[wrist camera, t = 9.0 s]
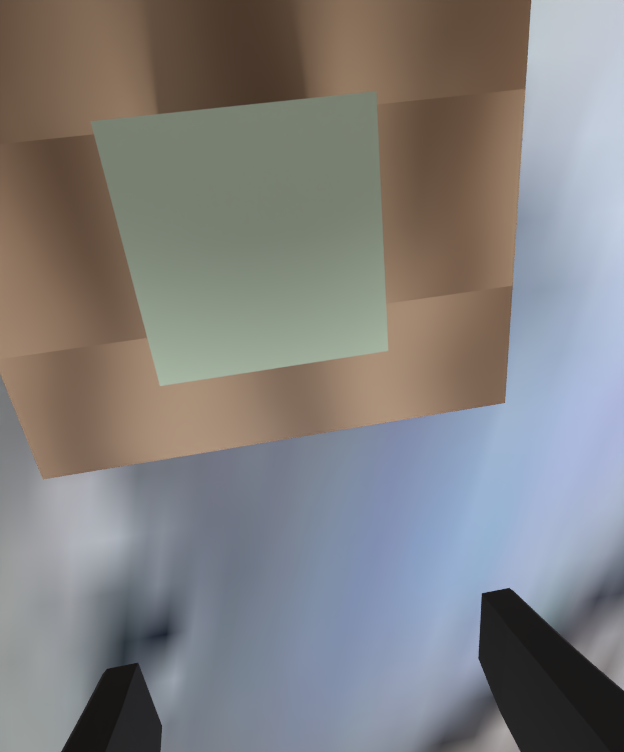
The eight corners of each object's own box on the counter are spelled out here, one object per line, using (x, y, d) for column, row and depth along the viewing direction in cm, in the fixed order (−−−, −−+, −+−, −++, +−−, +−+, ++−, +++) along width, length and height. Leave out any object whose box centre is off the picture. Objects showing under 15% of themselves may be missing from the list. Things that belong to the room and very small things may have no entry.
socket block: (72, 433, 18) (42, 479, 16) (-89, -16, 13) (-178, -69, 10) (468, 371, 20) (504, 402, 17) (480, -59, 14) (538, -116, 11)
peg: (200, 280, 16) (160, 386, 8) (173, 152, 15) (90, 121, 6) (314, 264, 17) (388, 351, 8) (301, 137, 15) (376, 91, 7)
